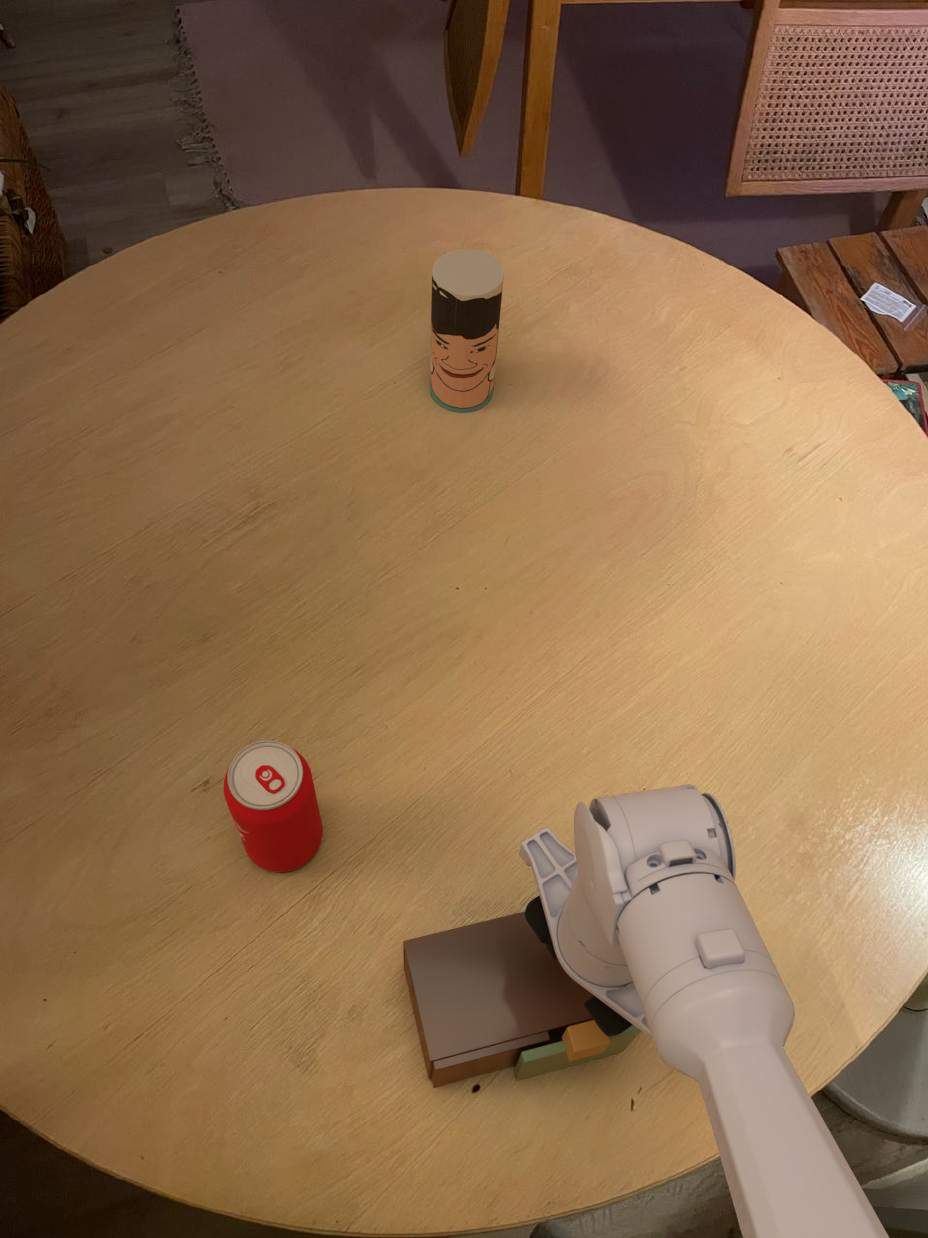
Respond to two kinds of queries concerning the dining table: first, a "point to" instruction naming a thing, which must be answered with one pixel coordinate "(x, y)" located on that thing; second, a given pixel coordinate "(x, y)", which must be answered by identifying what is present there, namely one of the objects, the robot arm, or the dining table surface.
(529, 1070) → the green drawer
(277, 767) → the beverage can
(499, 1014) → the cabinet
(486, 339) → the tan and black cylinder
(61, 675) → the dining table surface
